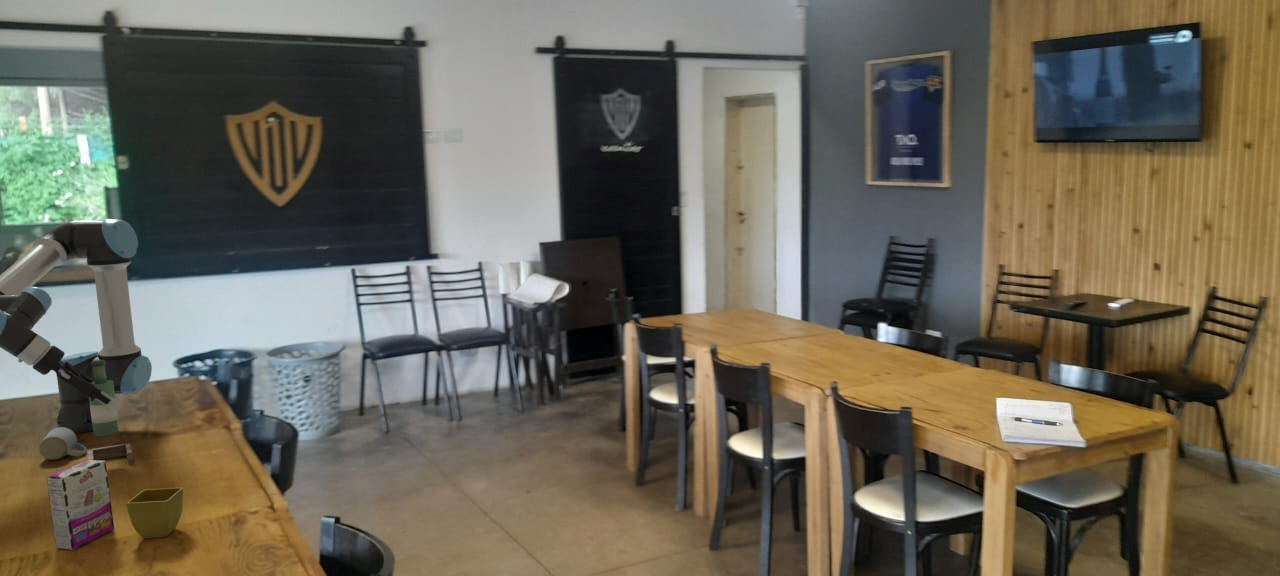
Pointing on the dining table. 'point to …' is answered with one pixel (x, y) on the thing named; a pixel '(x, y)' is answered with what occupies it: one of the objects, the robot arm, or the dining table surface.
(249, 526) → the dining table surface
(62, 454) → the ceramic mug
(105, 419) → the bottle
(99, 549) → the dining table surface
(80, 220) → the robot arm
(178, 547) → the dining table surface
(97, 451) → the u rest
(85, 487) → the candy bar box
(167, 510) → the flower pot
